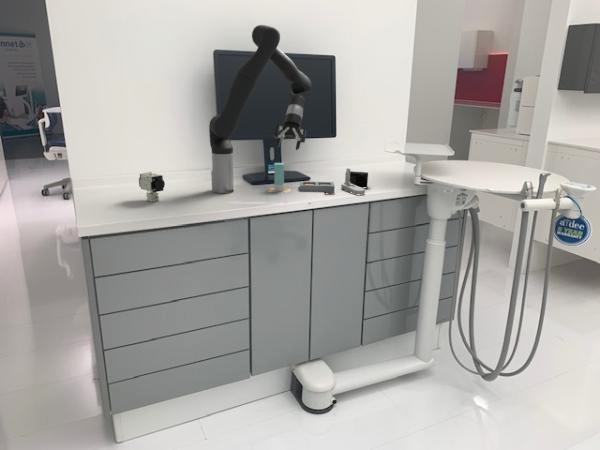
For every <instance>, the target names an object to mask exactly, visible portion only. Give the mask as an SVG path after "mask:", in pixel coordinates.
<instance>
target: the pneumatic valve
mask: <svg viewBox="0 0 600 450" xmlns="http://www.w3.org/2000/svg"><path fill="white" fill-rule="evenodd" d="M165 183H166V182H165V180H164V178H163V175H161V174H157V173H154V172H152V171H149V172H145V173H139V178H138V185H139V186H138V187H140V189H141V190H144V191H147V193H146V199H147V200H146V201H147V202H150V203H154V202H158V201H160V199H159V198H160V197H159V192H162V191H164V187H165Z"/></svg>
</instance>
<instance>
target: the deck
mask: <svg viewBox="0 0 600 450" xmlns="http://www.w3.org/2000/svg"><path fill="white" fill-rule="evenodd" d="M266 193H283V194H286V193H287V194H289V193H291V188H286V187H285V188H284V191H274V187H268V190H267V192H266Z"/></svg>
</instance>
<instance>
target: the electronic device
mask: <svg viewBox="0 0 600 450" xmlns="http://www.w3.org/2000/svg"><path fill="white" fill-rule="evenodd" d="M350 171H351V168H346V171H345V176H346V180H345V181H344V182H342V183H341V186H340V187H341V188H340V189H342V190H343V189H344V190H343V191H345V190H346V192H348V191H349V192H348V193H350V192H352V193H354V194H353V195H355V194H364V193H365V194H366V188H361V187H358V186H356V185H354V184H351V182H350ZM352 193H351V194H352ZM365 194H364V195H365Z"/></svg>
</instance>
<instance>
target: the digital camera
mask: <svg viewBox="0 0 600 450" xmlns="http://www.w3.org/2000/svg"><path fill="white" fill-rule="evenodd" d="M368 178H369V172H364V171H353V170H350V182H351V184H354V185H356V186H358V187H367V188H368V182H369V181H368V180H369V179H368ZM345 180H346V175H345Z"/></svg>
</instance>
